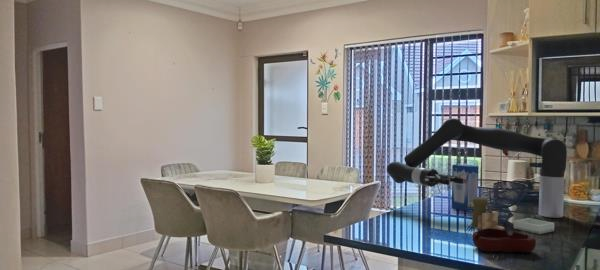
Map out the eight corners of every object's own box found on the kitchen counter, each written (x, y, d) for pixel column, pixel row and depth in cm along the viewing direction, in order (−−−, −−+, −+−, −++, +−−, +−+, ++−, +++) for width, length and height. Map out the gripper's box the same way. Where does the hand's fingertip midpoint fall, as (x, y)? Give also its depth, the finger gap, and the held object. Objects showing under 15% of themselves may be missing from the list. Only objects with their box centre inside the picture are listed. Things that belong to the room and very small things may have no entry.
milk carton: (451, 207, 219) (452, 164, 219) (461, 206, 222) (462, 164, 221) (467, 211, 210) (468, 166, 210) (477, 210, 213) (478, 166, 212)
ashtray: (513, 242, 158) (514, 227, 158) (540, 256, 142) (540, 240, 142) (461, 241, 157) (461, 227, 157) (481, 256, 141) (482, 239, 141)
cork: (489, 228, 177) (490, 199, 177) (472, 227, 178) (473, 198, 178) (486, 224, 183) (487, 196, 183) (469, 224, 184) (470, 196, 184)
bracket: (493, 226, 181) (493, 202, 181) (505, 228, 177) (506, 205, 176) (477, 228, 176) (478, 204, 175) (490, 231, 171) (491, 207, 171)
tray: (528, 225, 183) (528, 217, 183) (554, 230, 175) (554, 222, 175) (513, 228, 178) (513, 220, 177) (539, 234, 169) (539, 225, 169)
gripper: (413, 168, 199) (444, 173, 185) (436, 167, 207) (467, 171, 193) (412, 186, 199) (443, 192, 186) (435, 184, 207) (466, 189, 193)
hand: (456, 181), depth 189 cm, fingers open, 8 cm apart
